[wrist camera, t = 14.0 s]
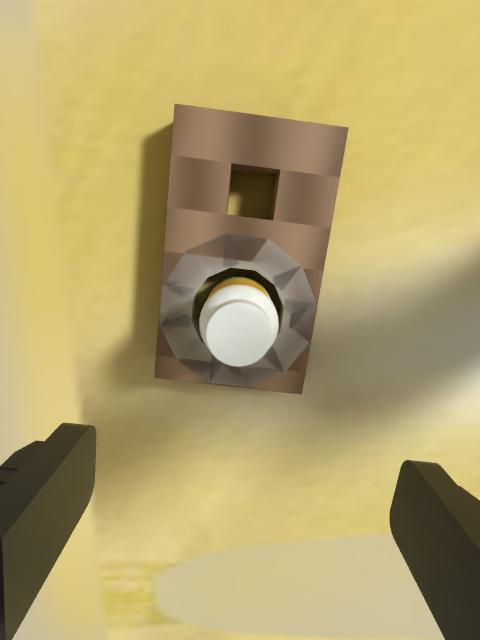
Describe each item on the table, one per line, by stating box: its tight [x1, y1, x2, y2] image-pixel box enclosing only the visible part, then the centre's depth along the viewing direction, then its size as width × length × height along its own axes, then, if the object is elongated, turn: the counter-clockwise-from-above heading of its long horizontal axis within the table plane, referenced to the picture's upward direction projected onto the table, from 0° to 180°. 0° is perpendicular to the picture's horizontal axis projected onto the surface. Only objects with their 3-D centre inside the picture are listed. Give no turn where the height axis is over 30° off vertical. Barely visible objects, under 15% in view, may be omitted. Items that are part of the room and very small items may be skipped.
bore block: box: [154, 104, 348, 394], centre depth 28 cm, size 12×20×3 cm, turn 173°
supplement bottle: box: [199, 276, 279, 367], centre depth 26 cm, size 5×5×10 cm
